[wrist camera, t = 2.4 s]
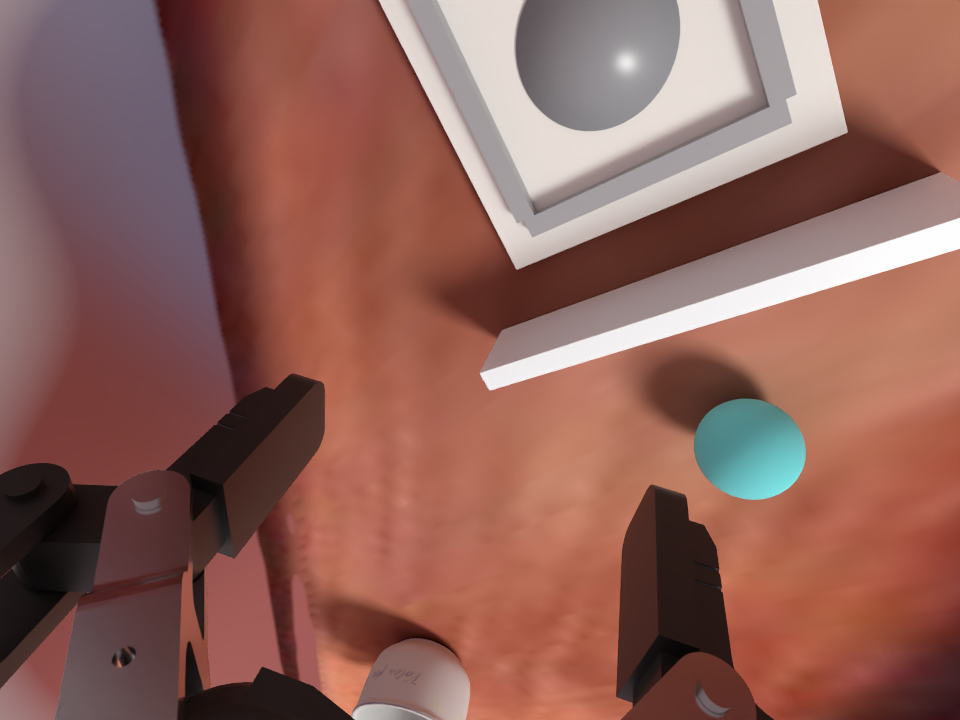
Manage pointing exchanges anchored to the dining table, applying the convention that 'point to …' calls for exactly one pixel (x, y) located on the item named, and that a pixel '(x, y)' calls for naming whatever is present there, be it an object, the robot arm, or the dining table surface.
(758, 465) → the teal ball
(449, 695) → the teacup
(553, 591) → the dining table surface
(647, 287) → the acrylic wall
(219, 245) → the dining table surface
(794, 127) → the pad
